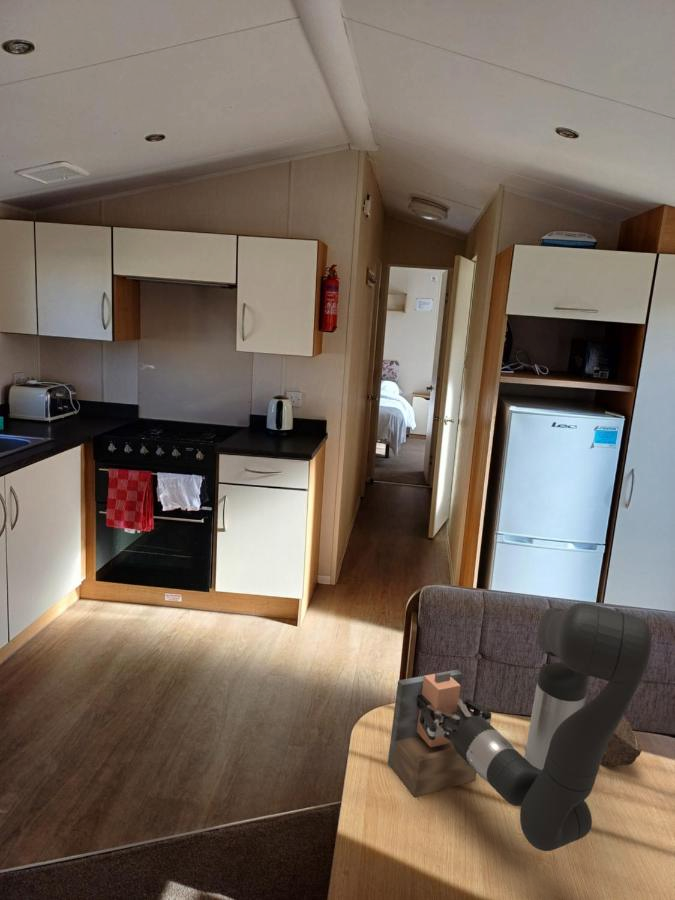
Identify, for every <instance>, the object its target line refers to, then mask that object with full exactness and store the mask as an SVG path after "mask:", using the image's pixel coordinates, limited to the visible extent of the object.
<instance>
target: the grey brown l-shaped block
mask: <svg viewBox="0 0 675 900" xmlns="http://www.w3.org/2000/svg"><path fill="white" fill-rule="evenodd" d="M448 671H449V672H450V673H451V677H452V678H453V679H454V680H455V681H456V682H457V683H459V684H460V685H461V686H462V680H463V672H461V671H460V670H459V669H453V670H448ZM426 675H427V674H425V675H421V676H416V677H411V678H405V679H399V680H397V688H396V693H395V694H396V695H395V702H394V710H393V718H392V719H393V720H392V726H391V734H390V744H389V748H388V749H389V750H388V758H387V764H388V766H389V767H390V768H391V769H392V770H393V772H394V773H395V774H396V776H397V777H398V778H399V780H400V781H401V782H402V784H403V785H404V786H405V787H406V789H407V790H408V791H409V793H410V794H411V796H413V798H416V797H420V796H424V795H428V794H431V793H435V792H438V791H442V790H445V789H449V788H453V787H456V786H459V785H463V784H465V783H471V782H473V781H476V779H477V772H476V771H475V770H474V769H473V768H472V767H471V766H470V765H469V764H468V763H467V762H466V761H465V760H464V759H463V758H462V757H461V756H460V755H459V754H458V753H457V751H456V750H455V748H454V746H453V744H452V742H451V743H447V744H443V745H439V746H435V747H430V746H429V745H428V744H427V743H426V742H425V740H424V739H423V738H422V737H421V736H420V735H419V734H418V733H417V724H418V717H419V708H418V707H417V698H418V695H421V694H422V687H423V679H424V676H426Z"/></svg>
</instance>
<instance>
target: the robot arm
mask: <svg viewBox="0 0 675 900" xmlns="http://www.w3.org/2000/svg"><path fill="white" fill-rule="evenodd" d="M537 627H538V629H537V640H538V644H539V647H540V649H541V650H542V652H543V653H544V654H546V655H548V656H551V657H554V658H558V659H559V660H560V661H561V662H557V663H550V664H549V663H548V664H546V665H544V666H542V667H541V668H540V669H539V672H538V674H537V675H538V676H537V682H536V687H535V691H534V692H535V693H534V698H533V699H534V700H533V703H532V704H533V705H532V711H531V716H530V722H529V726H528V727H529V728H528V732H527V739H526V745H525V749H524V756H523V755H522V754H521V753H520V752H518V751H517V749H516V748H515V747H514V746H513V744H512V743H511V742H510V741H509V740H508V739H507V738H506V737H505V736H503V734H501V733H500V731H499V730H497V729H496V728H495V727H494V726H493V725H491V721H492V715H493V714H492V712H491V711H489V710H487V708H484V707H483V706H481V705H479V704H477V703H476V702H475V701H474V700H471V699H469V698H465V700H462V699H461V698H459V701H458V704H457V707H458V708H457V711H455V712H453V713H449V712H448V711H446V710H444V709H442V708H441V709H438V708H436V707H434V706H433V705H432V704H431V703H430V702H429V701H428V700H427V699H426V698H425V697H424V696H423V695H422V694H421V695H418V698H417V707H418V708H419V709H420V710H421V715H420V723H421V725H422V727H423V729H424V731H425V733H426V734H427V736H428V738H429V739H430V740H435V736H442V735H443V736H444V737H445V738H446V739H448V740H450V741H451V742H452V744H453V746H454V748H455V750H456V751H457V753H458V754H459V755H460V756H461V757H462V758H463V759H464V760H465V761H466V762H467V763H468V764H469V765H470V766H471V767H472V768H473V769H474V770H475V771H476V772H477V773H476V775H478V776H479V777H481V778H482V779H483V780H484V781H486V782H487V783H488V784H489V785H490V786H491V787H492V788H493V789H494V790H495V791H496V792H497V793H498V794H499V795H500V797H501V798H503V800H504V801H506V802H507V803H508V804H510V805H512V806H515V807H520V811H519V822H520V827H521V830H522V833H523V836H524V837H525V839H526V840H527V842H528V843H529V844H530V845H531V847H533V848H535V849H537V850H538V851H543V852H551V851H554V850H557V849H559V848H562V847H564V846H567V845H569V844H570V843H573V842H577V841H578V840H581V839H583V838H585V837H586V836H587V835H588V834H589V832H590V831H591V830H592V825H593V824H592V823H593V819H592V818H593V817H592V812H591V810H590V808H589V805H588V804H587V802H586V801H585V800H586V799H587V798H589V795H590V794H591V793H592V790H593V788H594V785H595V782H596V778H597V776H598V773H599V770H600V768H601V767H600V766H601V764H602V762H601V760H602V757H603V755H604V752H605V750H606V747H607V745H608V743H609V741H610V739H611V737H612V735H613V734H614V732H615V730H616V728H617V726H618V725H619V723H620V721H621V719H622V717H623V716H625V713H626V711H627V710H628V707H629V706H630V704H631V702H632V700H633V698H634V697H635V694H636V692H637V691H638V688H639V687H640V684H641V683H642V680H643V678H644V676H645V674H646V671H647V668H648V665H649V661H650V658H651V652H652V632H651V627H650V625H649V623H648V622H647V621H646V620H645V619H644V618H642V617H639V616H637V615H633V614H629V613H625V612H623V611H622V612H621V611H619V610H614V609H610V608H607V607H603V606H599V605H596V604H592V603H587V602H586V603H584V602H577V603H575V604H573V605H571V606H570V607H569V608H568V609H563V608H557V607H551V608H548V609H547V610H545V611H544V613H543V614H542V616H541V618H540V620H539V624H538V626H537ZM590 677H593V678H596V679H600V680H603V681H607V683H606V685H605V687H604V688H603V689H602V690H601V692H600V693H599V694H598V695H596V697H595V698H593V699H592V700H591V701H590V702H588V703H587V704H586V705H585V702H586V696H587V695H586V694H587V690H588V684H589V681H590ZM471 708H472V709H473V710H471ZM433 713H435V714H436V717H434V716H433ZM443 716H444V717H443ZM442 718H443V723H442Z"/></svg>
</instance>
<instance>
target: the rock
mask: <svg viewBox="0 0 675 900" xmlns="http://www.w3.org/2000/svg"><path fill="white" fill-rule="evenodd" d="M642 751H643V750H642V748H641V745H640V743H639V739H638V738H637V737H636V736H635V733H634V731H633V729H632V726H631V724H630V722H629V720H628V719H627V718H626V716H625V715H624V716H623V717H622V719H621V721H620V723H619V725H618V726H617V728H616V730H615V732H614V734H613V735H612V737H611V739H610V741H609V743H608V745H607V747H606V750H605V752H604V755H603V757H602V760H601V764H604V765H609V766H620V767H622V766H626V767H628V766H629V765H631V764H633V763H635V761H636V759H637V758H638V757H639V756H640V755H641V753H642Z"/></svg>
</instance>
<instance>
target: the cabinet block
mask: <svg viewBox="0 0 675 900" xmlns="http://www.w3.org/2000/svg"><path fill="white" fill-rule="evenodd" d="M449 671H450V670H447V671H443V672H437V673H432V674H425V675H426V676H425V675H423V676H424V679H423V687H422V695H423V696H424V697H425V698H426V699H427V700H428V701H429V702H430V703H431V704H432V705H433V706H434V707H436V708H438V709H441V708H442V709H444V710H446V711H448V712H449V713H453V712H455V711H457V708H458V707H457V704H458V701H459V699H460V693H461V686H462V684H461V685H460V684H459V683H457V682H456V681H455V680H454V679H453V678H452V677H451V673H450V672H449ZM420 715H421V710H420V709H419V717H418V724H417V733H418V734H419V735H420V736H421V737H422V738H423V739H424V740H425V742H426V743H427V744H428V745H429V746H430V747H435V746H439V745H443V744H447V743H451V741H450V740H448V739H446V738H445V737H444V736H443V735H442V736H435V740H430V739H429V738H428V736H427V734H426V733H425V731H424V729H423V727H422V725H421V723H420ZM433 716H434V717H436V714H435V713H433ZM443 717H444V716H443ZM442 723H443V718H442Z"/></svg>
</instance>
